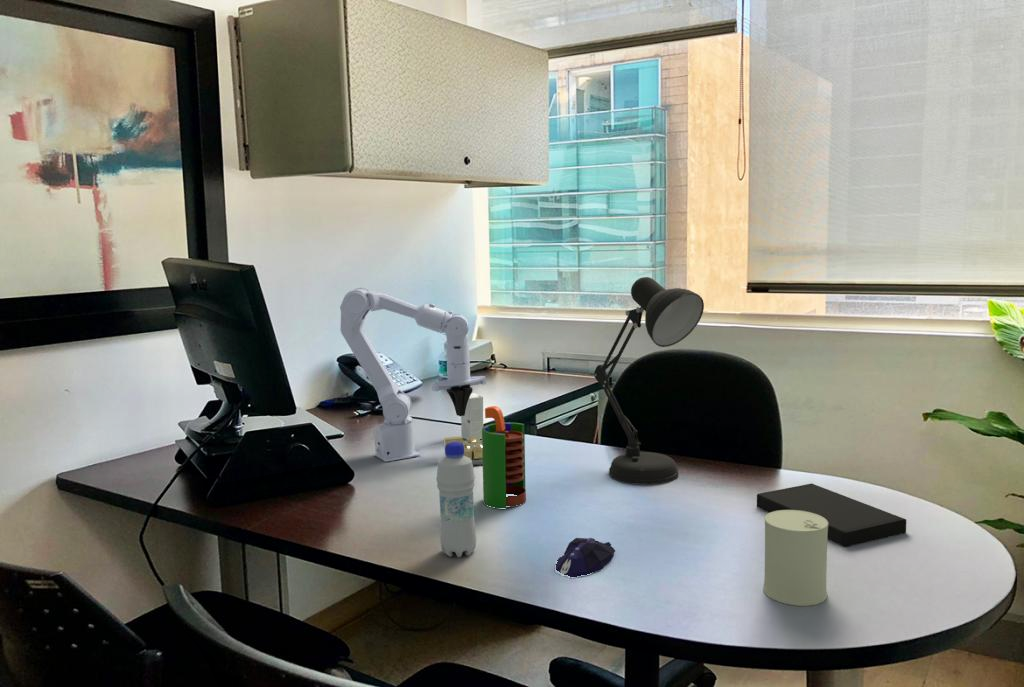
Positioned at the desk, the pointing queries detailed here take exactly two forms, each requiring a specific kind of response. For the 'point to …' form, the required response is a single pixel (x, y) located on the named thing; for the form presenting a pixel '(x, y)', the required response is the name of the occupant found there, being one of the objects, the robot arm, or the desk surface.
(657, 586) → the desk surface
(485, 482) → the coil heat exchanger
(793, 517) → the can
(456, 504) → the bottle
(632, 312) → the desk lamp
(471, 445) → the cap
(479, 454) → the brass valve fitting
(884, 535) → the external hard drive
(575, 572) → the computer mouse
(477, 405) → the skincare box
